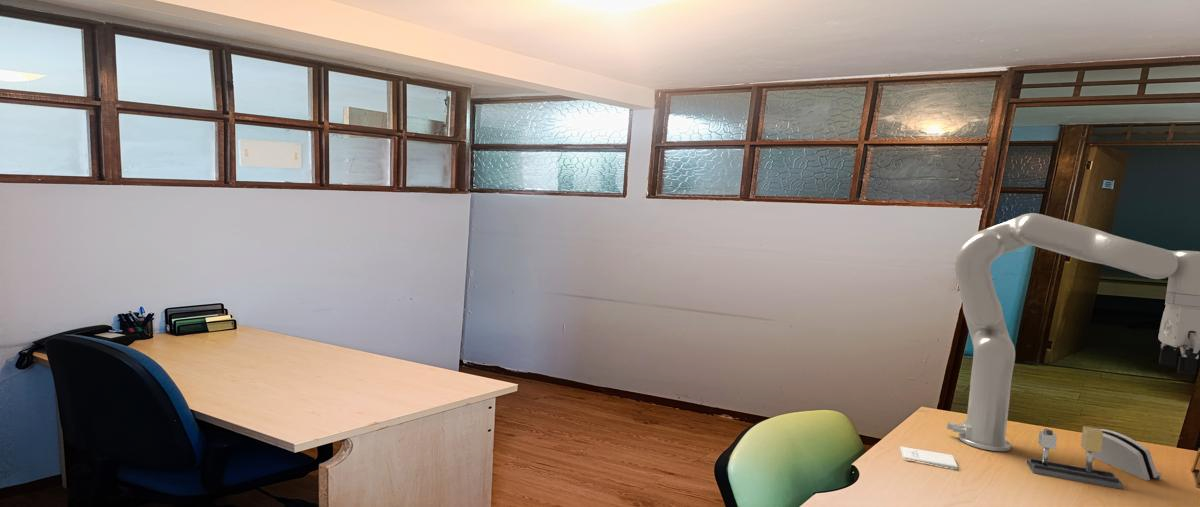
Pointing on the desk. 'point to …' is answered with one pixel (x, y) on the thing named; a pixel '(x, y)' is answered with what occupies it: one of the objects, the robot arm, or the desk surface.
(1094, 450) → the tan square-headed peg
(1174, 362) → the robot arm
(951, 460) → the external hard drive
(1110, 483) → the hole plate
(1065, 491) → the desk surface
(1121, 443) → the white black arched block
